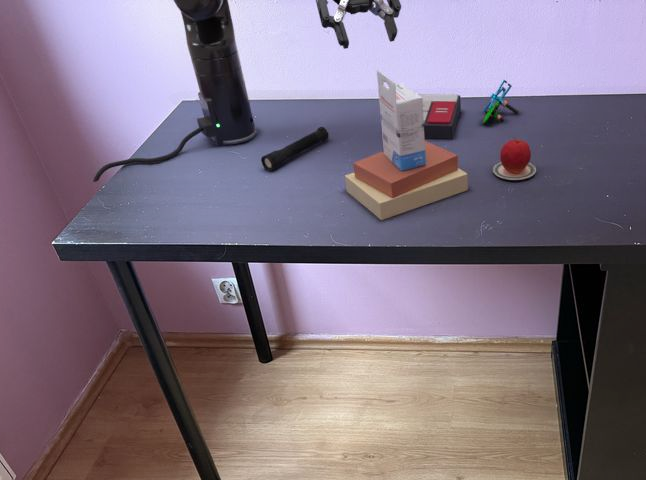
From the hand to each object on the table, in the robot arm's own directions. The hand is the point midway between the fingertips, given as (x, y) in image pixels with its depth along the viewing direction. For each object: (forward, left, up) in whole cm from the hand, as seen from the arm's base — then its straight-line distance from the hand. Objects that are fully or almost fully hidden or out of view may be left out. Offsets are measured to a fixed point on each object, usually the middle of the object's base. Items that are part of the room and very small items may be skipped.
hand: (370, 42), depth 115 cm
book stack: (-2, -13, -22) cm, 26 cm away
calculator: (+18, +10, -22) cm, 30 cm away
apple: (+18, -19, -22) cm, 34 cm away
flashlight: (-12, +13, -22) cm, 29 cm away
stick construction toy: (+32, +4, -22) cm, 39 cm away
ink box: (-2, -13, -16) cm, 21 cm away
